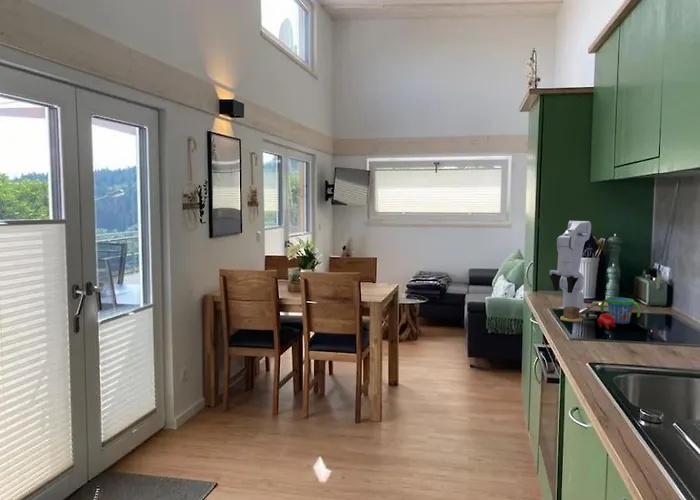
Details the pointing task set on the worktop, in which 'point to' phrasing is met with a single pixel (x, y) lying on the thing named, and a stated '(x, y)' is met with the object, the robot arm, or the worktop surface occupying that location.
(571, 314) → the block
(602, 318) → the red toy piece
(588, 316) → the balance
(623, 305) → the snack cup
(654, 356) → the worktop surface
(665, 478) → the worktop surface
